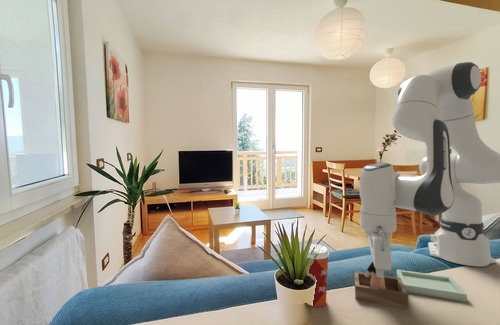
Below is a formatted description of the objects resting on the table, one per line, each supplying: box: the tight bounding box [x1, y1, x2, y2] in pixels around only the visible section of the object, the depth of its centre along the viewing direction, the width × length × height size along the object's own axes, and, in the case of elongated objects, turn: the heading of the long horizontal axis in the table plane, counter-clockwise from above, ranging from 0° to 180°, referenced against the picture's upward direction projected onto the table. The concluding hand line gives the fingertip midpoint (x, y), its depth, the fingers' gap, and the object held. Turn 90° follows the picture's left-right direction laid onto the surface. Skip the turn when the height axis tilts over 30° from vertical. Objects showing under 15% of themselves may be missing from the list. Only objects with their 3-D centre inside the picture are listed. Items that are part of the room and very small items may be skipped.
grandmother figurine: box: [365, 250, 391, 289], centre depth 66 cm, size 8×4×13 cm, turn 114°
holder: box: [354, 271, 409, 310], centre depth 66 cm, size 9×12×4 cm
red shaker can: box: [304, 243, 330, 308], centre depth 64 cm, size 8×8×14 cm
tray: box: [396, 269, 468, 303], centre depth 69 cm, size 10×14×2 cm
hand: (378, 272), depth 66 cm, fingers closed on grandmother figurine, 3 cm apart
